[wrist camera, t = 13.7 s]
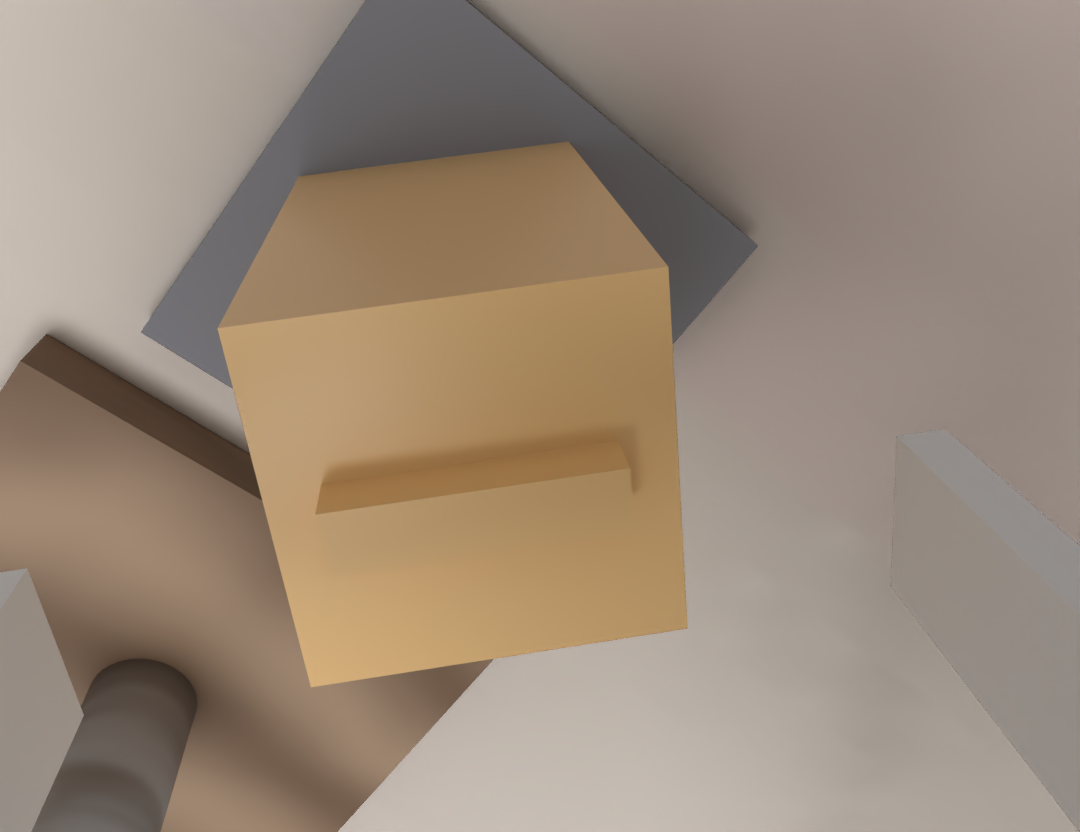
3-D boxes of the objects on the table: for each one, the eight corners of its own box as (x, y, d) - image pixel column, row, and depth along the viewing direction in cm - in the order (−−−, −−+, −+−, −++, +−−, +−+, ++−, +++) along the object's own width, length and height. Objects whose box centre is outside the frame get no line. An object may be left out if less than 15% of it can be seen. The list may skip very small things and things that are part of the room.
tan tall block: (349, 421, 29) (305, 725, 17) (298, 176, 26) (205, 351, 14) (591, 386, 29) (700, 662, 18) (568, 141, 26) (684, 286, 15)
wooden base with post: (240, 899, 37) (176, 1242, 27) (-200, 715, 32) (-480, 1060, 22) (503, 605, 33) (540, 884, 23) (46, 334, 28) (-163, 548, 18)
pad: (492, 532, 32) (494, 549, 31) (150, 319, 28) (140, 332, 27) (747, 236, 29) (758, 245, 28) (402, -53, 25) (402, -54, 24)
